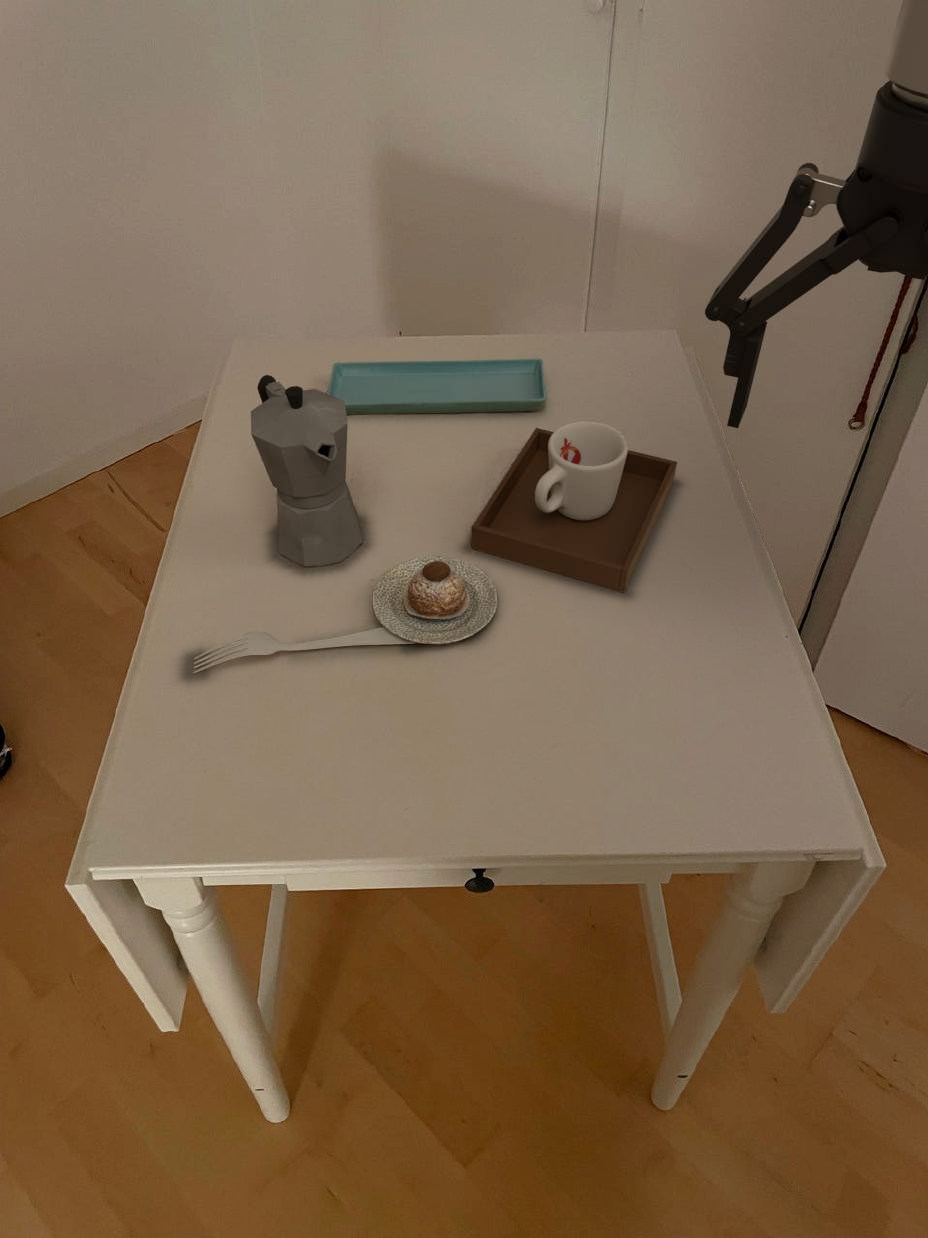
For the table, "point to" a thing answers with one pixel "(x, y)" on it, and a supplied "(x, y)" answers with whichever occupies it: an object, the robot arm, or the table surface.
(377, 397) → the shallow long dish
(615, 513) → the tray
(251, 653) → the fork
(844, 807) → the table surface
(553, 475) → the cup
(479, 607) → the pastry
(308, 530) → the coffeepot
